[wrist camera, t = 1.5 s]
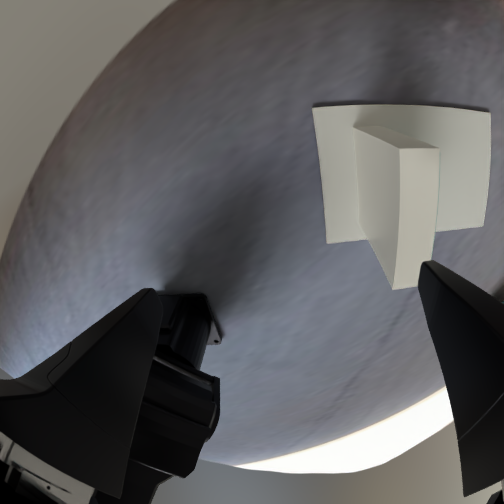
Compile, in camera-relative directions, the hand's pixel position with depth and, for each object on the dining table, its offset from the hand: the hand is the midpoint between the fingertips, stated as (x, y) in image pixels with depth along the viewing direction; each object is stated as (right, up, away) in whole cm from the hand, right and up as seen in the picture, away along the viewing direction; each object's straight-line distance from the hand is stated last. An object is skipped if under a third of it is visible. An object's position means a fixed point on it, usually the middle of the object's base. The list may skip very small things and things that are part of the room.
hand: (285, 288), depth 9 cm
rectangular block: (+7, +6, +9) cm, 13 cm away
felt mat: (+11, +7, +9) cm, 16 cm away
